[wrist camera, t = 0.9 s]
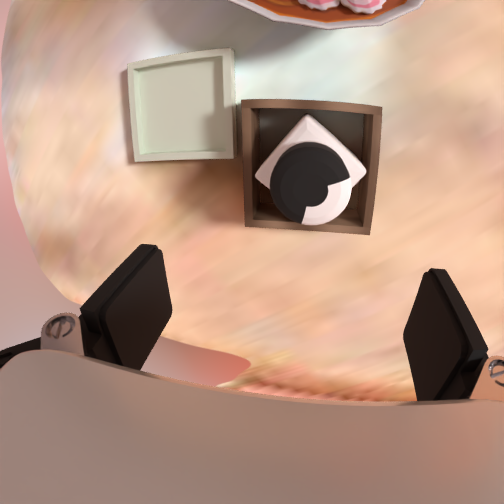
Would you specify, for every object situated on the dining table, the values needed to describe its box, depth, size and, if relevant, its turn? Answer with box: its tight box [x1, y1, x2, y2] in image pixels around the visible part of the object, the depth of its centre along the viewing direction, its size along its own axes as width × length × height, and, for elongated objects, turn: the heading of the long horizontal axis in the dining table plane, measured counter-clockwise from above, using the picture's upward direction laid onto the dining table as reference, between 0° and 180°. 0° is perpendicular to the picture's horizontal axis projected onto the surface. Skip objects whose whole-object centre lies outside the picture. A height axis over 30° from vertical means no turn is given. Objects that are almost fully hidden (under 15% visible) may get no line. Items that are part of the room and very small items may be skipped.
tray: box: [127, 48, 237, 162], centre depth 30 cm, size 12×12×2 cm
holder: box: [241, 99, 382, 235], centre depth 29 cm, size 13×13×5 cm
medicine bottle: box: [255, 113, 366, 225], centre depth 26 cm, size 7×7×12 cm
